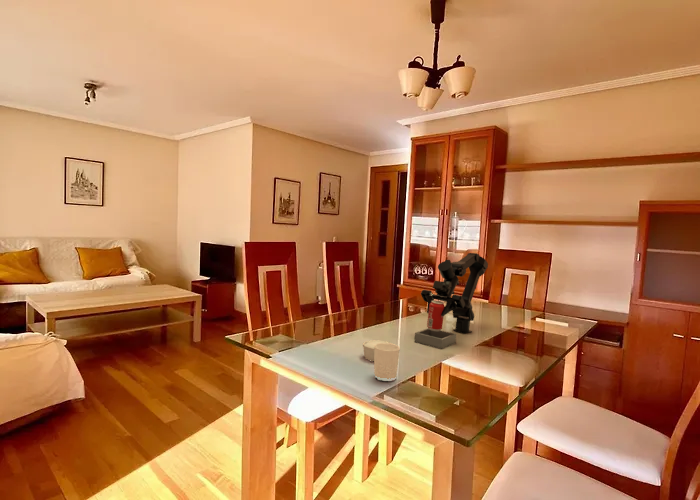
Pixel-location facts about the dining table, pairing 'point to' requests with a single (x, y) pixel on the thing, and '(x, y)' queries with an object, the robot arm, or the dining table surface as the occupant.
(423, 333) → the tray
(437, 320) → the beverage can
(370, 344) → the ramekin
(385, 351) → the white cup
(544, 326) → the dining table surface
